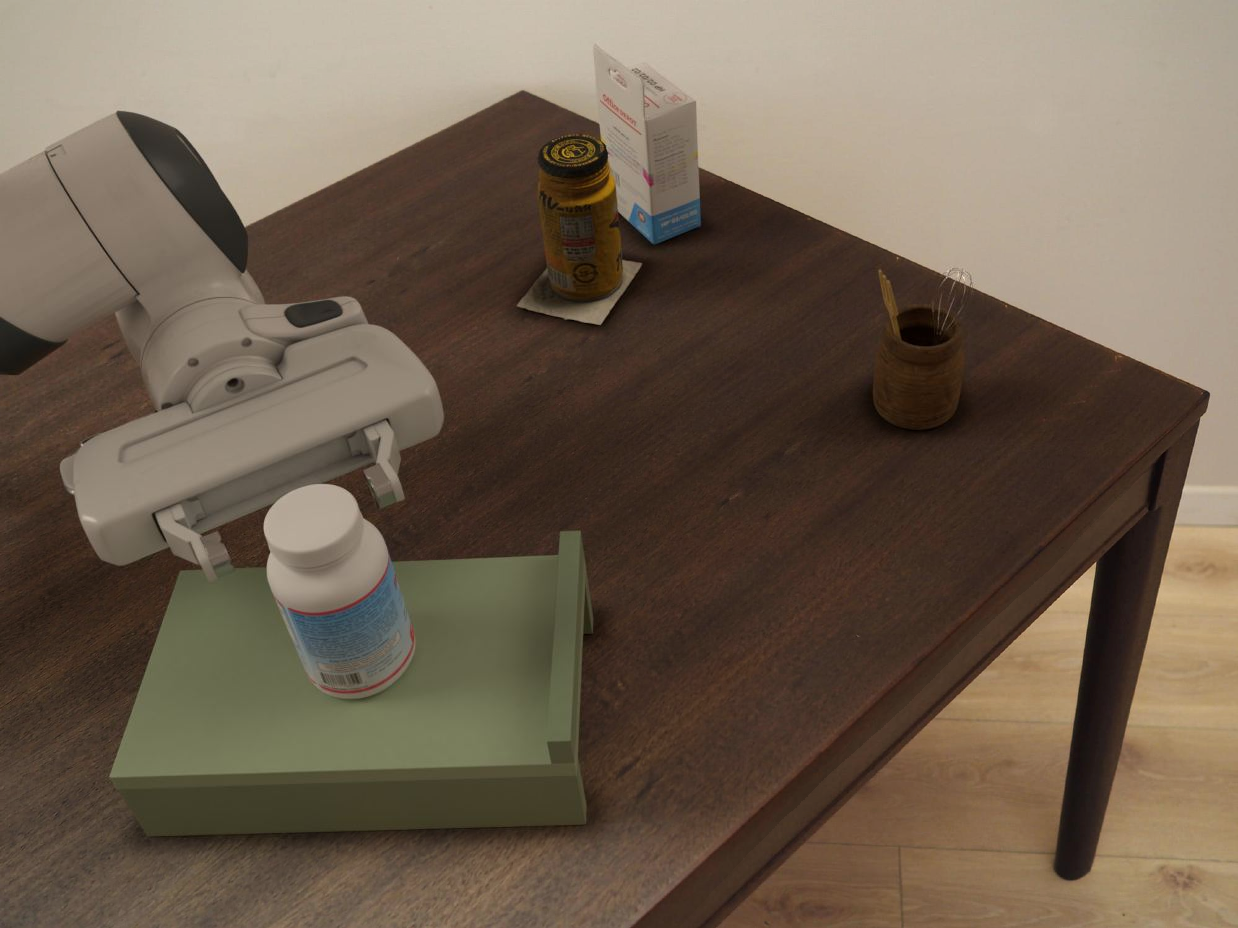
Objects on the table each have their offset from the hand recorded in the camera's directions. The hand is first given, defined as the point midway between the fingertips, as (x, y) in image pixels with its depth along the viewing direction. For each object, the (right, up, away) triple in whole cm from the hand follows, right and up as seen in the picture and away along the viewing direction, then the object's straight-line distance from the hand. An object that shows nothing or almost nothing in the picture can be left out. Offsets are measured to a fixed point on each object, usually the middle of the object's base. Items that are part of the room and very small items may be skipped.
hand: (306, 532), depth 66 cm
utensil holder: (+37, +8, +23) cm, 44 cm away
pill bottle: (+2, -7, +3) cm, 8 cm away
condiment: (+13, +18, +36) cm, 42 cm away
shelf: (+3, -11, +7) cm, 14 cm away
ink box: (+19, +25, +43) cm, 53 cm away
